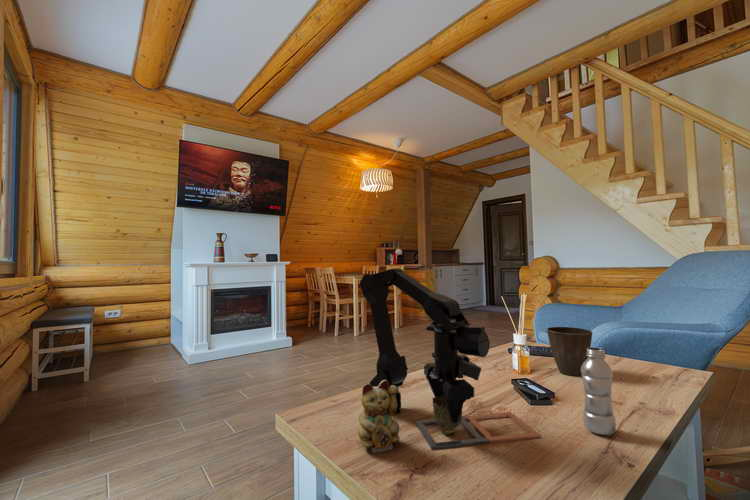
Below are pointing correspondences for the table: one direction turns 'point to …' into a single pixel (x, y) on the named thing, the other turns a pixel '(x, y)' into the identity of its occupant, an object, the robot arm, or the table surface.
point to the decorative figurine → (378, 417)
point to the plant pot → (569, 348)
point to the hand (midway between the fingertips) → (447, 414)
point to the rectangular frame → (474, 433)
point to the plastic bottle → (598, 393)
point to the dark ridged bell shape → (444, 416)
